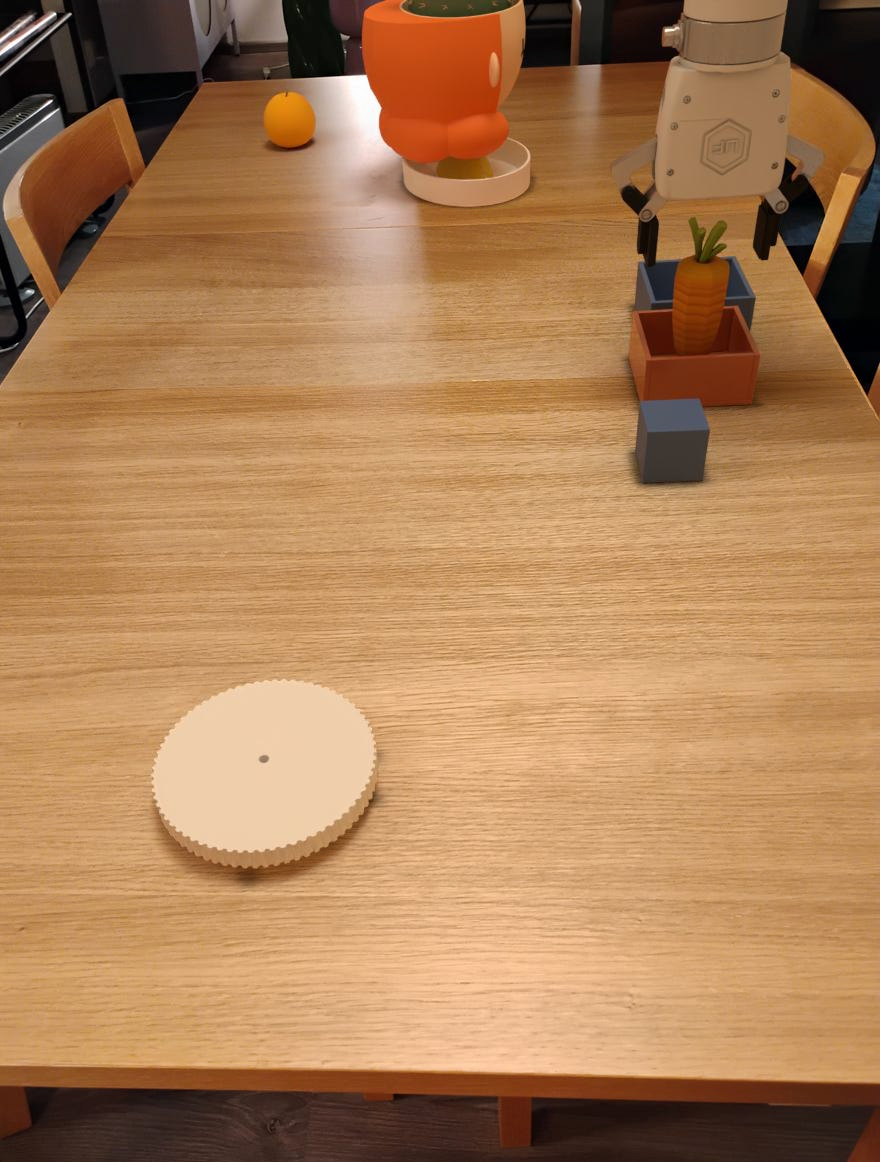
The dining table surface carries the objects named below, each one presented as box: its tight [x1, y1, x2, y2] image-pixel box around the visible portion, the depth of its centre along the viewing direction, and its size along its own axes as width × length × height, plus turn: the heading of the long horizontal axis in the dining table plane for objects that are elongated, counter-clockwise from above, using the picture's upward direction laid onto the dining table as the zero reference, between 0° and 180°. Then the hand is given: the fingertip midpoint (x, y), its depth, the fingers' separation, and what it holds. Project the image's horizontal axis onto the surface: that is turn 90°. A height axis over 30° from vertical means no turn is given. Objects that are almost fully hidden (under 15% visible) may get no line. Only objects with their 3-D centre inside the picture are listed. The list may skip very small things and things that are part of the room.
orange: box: [263, 91, 317, 149], centre depth 159 cm, size 8×8×8 cm
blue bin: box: [633, 255, 757, 332], centre depth 105 cm, size 10×10×5 cm
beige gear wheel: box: [150, 678, 379, 869], centre depth 64 cm, size 14×14×2 cm
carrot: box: [672, 216, 730, 356], centre depth 93 cm, size 5×5×15 cm
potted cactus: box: [361, 0, 531, 208], centre depth 131 cm, size 22×22×35 cm
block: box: [634, 398, 711, 484], centre depth 87 cm, size 5×5×5 cm
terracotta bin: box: [628, 306, 761, 408], centre depth 97 cm, size 10×10×5 cm
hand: (704, 257), depth 90 cm, fingers open, 9 cm apart
